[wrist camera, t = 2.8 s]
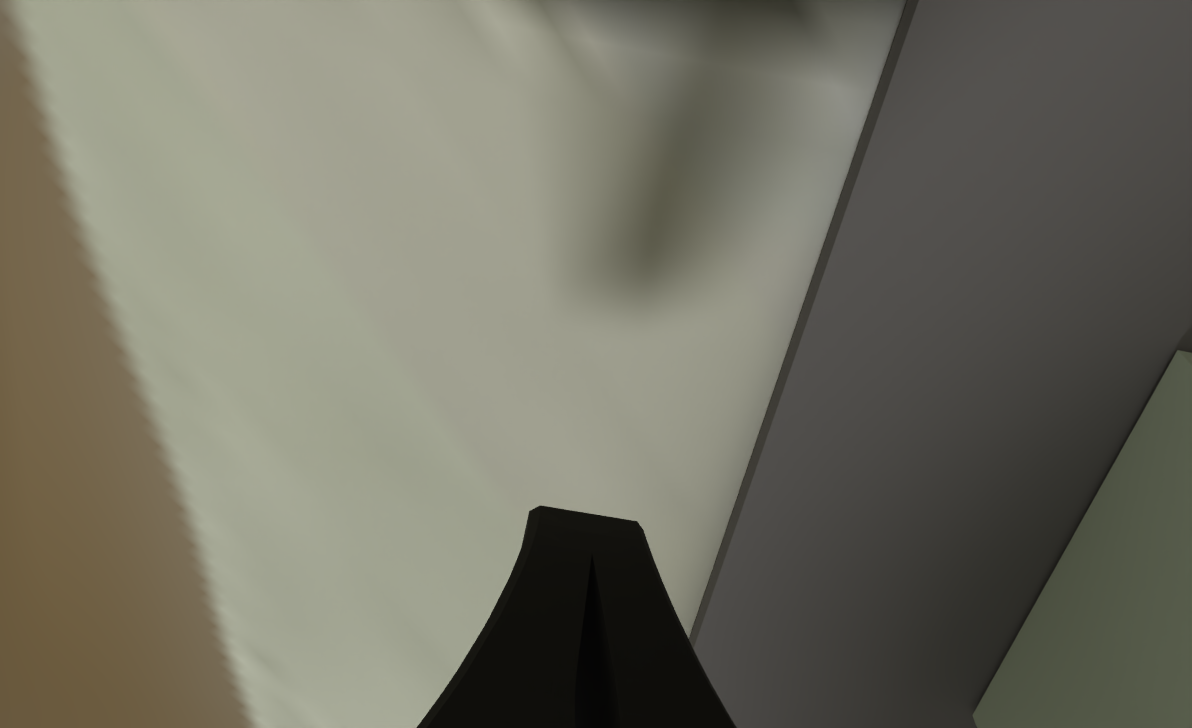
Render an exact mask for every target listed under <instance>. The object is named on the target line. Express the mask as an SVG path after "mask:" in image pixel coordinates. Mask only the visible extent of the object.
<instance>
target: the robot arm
mask: <svg viewBox="0 0 1192 728" xmlns="http://www.w3.org/2000/svg"><path fill="white" fill-rule="evenodd" d="M417 728H737V727H736V726H735V724H734V722H733V721H732V719H731V717H730V716H729V714H728V712H727V710H726V709H725V707H724V705H723V703H722V702H721V700H720V698H719V696H718V695H717V693H716V691H715V689H714V688H713V686H712V684H711V682H710V680H709V679H708V677H707V675H706V673H705V671H704V669H703V667H702V665H701V663H700V662H699V660H698V657H697V655H696V653H695V651H694V649H693V647H692V645H691V643H690V641H689V639H688V637H687V635H686V633H685V631H684V629H683V627H682V625H681V623H680V621H679V618H678V616H677V614H676V612H675V610H674V607H673V605H672V603H671V601H670V598H669V596H668V594H667V591H666V589H665V587H664V584H663V582H662V579H661V577H660V574H659V572H658V569H657V567H656V564H655V562H654V559H653V556H652V554H651V551H650V548H649V545H648V543H647V540H646V537H645V534H644V530H643V529H642V528H641V526H640V525H639V523H638V522H637V521H631V520H625V519H619V518H613V517H607V516H601V515H595V514H589V513H583V512H577V511H570V510H564V509H558V508H552V507H546V506H538V507H536V508H535V509H533V510H531V511H529V515H528V520H527V525H526V529H525V534H524V539H523V543H522V548H521V550H520V553H519V556H518V558H517V561H516V563H515V566H514V568H513V570H512V573H511V575H510V577H509V580H508V582H507V584H506V586H505V588H504V590H503V591H502V593H501V595H500V597H499V599H498V601H497V603H496V605H495V607H494V609H493V611H492V613H491V615H490V617H489V619H488V621H487V623H486V624H485V626H484V628H483V630H482V631H481V633H480V634H479V636H478V638H477V639H476V641H475V643H474V644H473V646H472V648H471V649H470V651H469V652H468V654H467V656H466V657H465V659H464V661H463V662H462V664H461V666H460V667H459V669H458V670H457V672H456V673H455V675H454V676H453V678H452V679H451V681H450V682H449V684H448V685H447V687H446V688H445V690H444V691H443V692H442V694H441V695H440V697H439V698H438V699H437V701H436V702H435V704H434V705H433V706H432V708H431V709H430V710H429V712H428V713H427V714H426V716H425V717H424V718H423V720H422V721H421V723H420V724H419V725H418V726H417Z"/></svg>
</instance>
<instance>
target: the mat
mask: <svg viewBox="0 0 1192 728" xmlns="http://www.w3.org/2000/svg"><path fill="white" fill-rule="evenodd" d="M1177 350H1180V351H1185V352H1190V353H1192V0H907V3H906V6H905V9H904V12H903V15H902V18H901V21H900V24H899V27H898V30H897V33H896V36H895V38H894V41H893V44H892V47H891V50H890V53H889V56H888V59H887V62H886V65H885V68H884V71H883V74H882V76H881V79H880V82H879V85H878V88H877V91H876V94H875V97H874V100H873V103H872V106H871V109H870V112H869V114H868V117H867V120H866V123H865V126H864V129H863V132H862V135H861V138H860V141H859V144H858V147H857V150H856V152H855V155H854V158H853V161H852V164H851V167H850V170H849V173H848V176H847V179H846V182H845V185H844V188H843V190H842V193H841V196H840V199H839V202H838V205H837V208H836V211H835V214H834V217H833V220H832V223H831V226H830V228H829V231H828V234H827V237H826V240H825V243H824V246H823V249H822V252H821V255H820V258H819V261H818V264H817V266H816V269H815V272H814V275H813V278H812V281H811V284H810V287H809V290H808V293H807V296H806V299H805V302H804V304H803V307H802V310H801V313H800V316H799V319H798V322H797V325H796V328H795V331H794V334H793V337H792V340H791V342H790V345H789V348H788V351H787V354H786V357H785V360H784V363H783V366H782V369H781V372H780V375H779V378H778V380H777V383H776V386H775V389H774V392H773V395H772V398H771V401H770V404H769V407H768V410H767V413H766V416H765V418H764V421H763V424H762V427H761V430H760V433H759V436H758V439H757V442H756V445H755V448H754V451H753V454H752V456H751V459H750V462H749V465H748V468H747V471H746V474H745V477H744V480H743V483H742V486H741V489H740V491H739V494H738V497H737V500H736V503H735V506H734V509H733V512H732V515H731V518H730V521H729V524H728V527H727V529H726V532H725V535H724V538H723V541H722V544H721V547H720V550H719V553H718V556H717V559H716V562H715V565H714V567H713V570H712V573H711V576H710V579H709V582H708V585H707V588H706V591H705V594H704V597H703V600H702V603H701V605H700V608H699V611H698V614H697V617H696V620H695V623H694V626H693V629H692V632H691V635H690V638H689V641H690V643H691V645H692V647H693V649H694V651H695V653H696V655H697V657H698V660H699V662H700V663H701V665H702V667H703V669H704V671H705V673H706V675H707V677H708V679H709V680H710V682H711V684H712V686H713V688H714V689H715V691H716V693H717V695H718V696H719V698H720V700H721V702H722V703H723V705H724V707H725V709H726V710H727V712H728V714H729V716H730V717H731V719H732V721H733V722H734V724H735V726H736V727H737V728H977V726H976V724H975V721H974V718H973V713H974V712H975V710H976V708H977V706H978V704H979V703H980V701H981V699H982V697H983V695H984V694H985V692H986V690H987V688H988V687H989V685H990V683H991V681H992V679H993V678H994V676H995V674H996V672H997V671H998V669H999V667H1000V665H1001V663H1002V662H1003V660H1004V658H1005V656H1006V655H1007V653H1008V651H1009V649H1010V647H1011V646H1012V644H1013V642H1014V640H1015V639H1016V637H1017V635H1018V633H1019V631H1020V630H1021V628H1022V626H1023V624H1024V622H1025V621H1026V619H1027V617H1028V615H1029V614H1030V612H1031V610H1032V608H1033V606H1034V605H1035V603H1036V601H1037V599H1038V598H1039V596H1040V594H1041V592H1042V590H1043V589H1044V587H1045V585H1046V583H1047V582H1048V580H1049V578H1050V576H1051V574H1052V573H1053V571H1054V569H1055V567H1056V566H1057V564H1058V562H1059V560H1060V558H1061V557H1062V555H1063V553H1064V551H1065V549H1066V548H1067V546H1068V544H1069V542H1070V541H1071V539H1072V537H1073V535H1074V533H1075V532H1076V530H1077V528H1078V526H1079V525H1080V523H1081V521H1082V519H1083V517H1084V516H1085V514H1086V512H1087V510H1088V509H1089V507H1090V505H1091V503H1092V501H1093V500H1094V498H1095V496H1096V494H1097V493H1098V491H1099V489H1100V487H1101V485H1102V484H1103V482H1104V480H1105V478H1106V477H1107V475H1108V473H1109V471H1110V469H1111V468H1112V466H1113V464H1114V462H1115V460H1116V459H1117V457H1118V455H1119V453H1120V452H1121V450H1122V448H1123V446H1124V444H1125V443H1126V441H1127V439H1128V437H1129V436H1130V434H1131V432H1132V430H1133V428H1134V427H1135V425H1136V423H1137V421H1138V420H1139V418H1140V416H1141V414H1142V412H1143V411H1144V409H1145V407H1146V405H1147V404H1148V402H1149V400H1150V398H1151V396H1152V395H1153V393H1154V391H1155V389H1156V387H1157V386H1158V384H1159V382H1160V380H1161V379H1162V377H1163V375H1164V373H1165V371H1166V370H1167V368H1168V366H1169V364H1170V363H1171V361H1172V359H1173V357H1174V355H1175V354H1176V352H1177Z"/></svg>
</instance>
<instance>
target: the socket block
mask: <svg viewBox="0 0 1192 728" xmlns="http://www.w3.org/2000/svg"><path fill="white" fill-rule="evenodd" d="M973 718H974V721H975V724H976V726H977V728H1192V353H1190V352H1185V351H1180V350H1177V352H1176V354H1175V355H1174V357H1173V359H1172V361H1171V363H1170V364H1169V366H1168V368H1167V370H1166V371H1165V373H1164V375H1163V377H1162V379H1161V380H1160V382H1159V384H1158V386H1157V387H1156V389H1155V391H1154V393H1153V395H1152V396H1151V398H1150V400H1149V402H1148V404H1147V405H1146V407H1145V409H1144V411H1143V412H1142V414H1141V416H1140V418H1139V420H1138V421H1137V423H1136V425H1135V427H1134V428H1133V430H1132V432H1131V434H1130V436H1129V437H1128V439H1127V441H1126V443H1125V444H1124V446H1123V448H1122V450H1121V452H1120V453H1119V455H1118V457H1117V459H1116V460H1115V462H1114V464H1113V466H1112V468H1111V469H1110V471H1109V473H1108V475H1107V477H1106V478H1105V480H1104V482H1103V484H1102V485H1101V487H1100V489H1099V491H1098V493H1097V494H1096V496H1095V498H1094V500H1093V501H1092V503H1091V505H1090V507H1089V509H1088V510H1087V512H1086V514H1085V516H1084V517H1083V519H1082V521H1081V523H1080V525H1079V526H1078V528H1077V530H1076V532H1075V533H1074V535H1073V537H1072V539H1071V541H1070V542H1069V544H1068V546H1067V548H1066V549H1065V551H1064V553H1063V555H1062V557H1061V558H1060V560H1059V562H1058V564H1057V566H1056V567H1055V569H1054V571H1053V573H1052V574H1051V576H1050V578H1049V580H1048V582H1047V583H1046V585H1045V587H1044V589H1043V590H1042V592H1041V594H1040V596H1039V598H1038V599H1037V601H1036V603H1035V605H1034V606H1033V608H1032V610H1031V612H1030V614H1029V615H1028V617H1027V619H1026V621H1025V622H1024V624H1023V626H1022V628H1021V630H1020V631H1019V633H1018V635H1017V637H1016V639H1015V640H1014V642H1013V644H1012V646H1011V647H1010V649H1009V651H1008V653H1007V655H1006V656H1005V658H1004V660H1003V662H1002V663H1001V665H1000V667H999V669H998V671H997V672H996V674H995V676H994V678H993V679H992V681H991V683H990V685H989V687H988V688H987V690H986V692H985V694H984V695H983V697H982V699H981V701H980V703H979V704H978V706H977V708H976V710H975V712H974V713H973Z"/></svg>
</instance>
